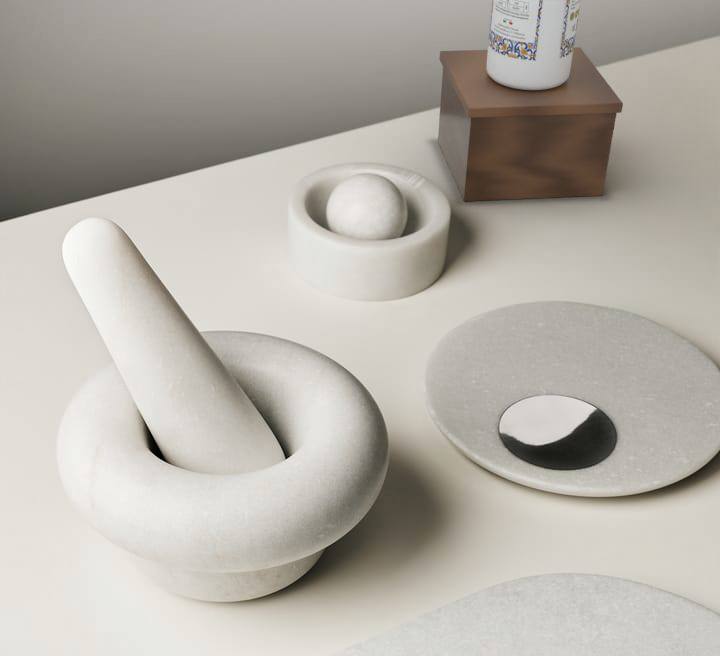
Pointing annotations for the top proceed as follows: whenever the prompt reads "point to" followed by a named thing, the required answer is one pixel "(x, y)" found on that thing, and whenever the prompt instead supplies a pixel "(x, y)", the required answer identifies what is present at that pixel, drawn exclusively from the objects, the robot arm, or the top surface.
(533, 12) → the bath foam
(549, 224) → the top surface
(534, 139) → the walnut box
